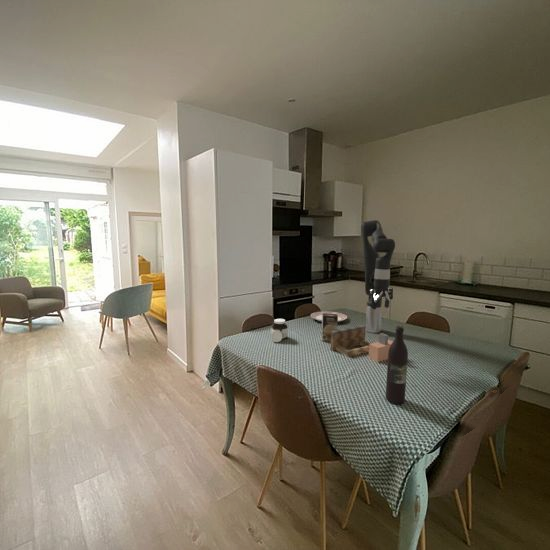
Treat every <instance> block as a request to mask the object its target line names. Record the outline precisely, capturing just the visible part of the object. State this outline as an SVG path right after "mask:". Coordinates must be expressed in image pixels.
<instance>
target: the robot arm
mask: <svg viewBox="0 0 550 550" xmlns="http://www.w3.org/2000/svg"><path fill="white" fill-rule="evenodd" d="M360 230H361V231H360V232H361V238H362V239H361V240H362V246H363V247H362V248H363V265H364V266H363V267H364V277H365V278H364V281H365V282H364V291H365V294H366V295H367V296H368V301H366V313H365V316H366V317H365V326H366V329H365V332H367V333H372V334H378V333H380V332H381V331H382V320H383V319H382V304H383V303H382V302H383V299H384V308H386V309H388V308H389V307H390V301H391V300H393V298H394V288H392V287H390V281H391V279H390V278H391V260H392V256H393V253H394V251H395V248H396V242H395V240H394V239H392V238H388V237H387V236H386V234H384V231H383V227H382V225H381V223H380V221H379V220H376V219H375V220H374V219H373V220H368V221H364V222H361V224H360ZM369 237H371V241H372V242H373V244H371V243H370V241H369V239H368V238H369ZM379 253H383V254H384V253H385V255H383V256H380V255H379ZM373 277H374V278H373ZM372 278H373V279H374V280H373V281H372Z"/></svg>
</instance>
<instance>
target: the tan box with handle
mask: <svg viewBox="0 0 550 550" xmlns="http://www.w3.org/2000/svg"><path fill="white" fill-rule="evenodd" d="M378 337H379V338H378V341H376V342H370V343H371V344H369V352H368V359H369V358H370V359H369V360H371V359H372V360H371V361H373V360H374V361H373V362H375V361H376V363H377V362H378V363H381V362H384V361H383V360H385V361H388V360H387V359H388V352H389V348H390V346H391V344H392V343H393V341H394V340H390V339H389V335H388V334H386V333H383V332H381V333H380V332H379V336H378ZM380 361H381V362H380Z"/></svg>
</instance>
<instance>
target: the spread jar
mask: <svg viewBox="0 0 550 550" xmlns="http://www.w3.org/2000/svg"><path fill="white" fill-rule="evenodd" d="M270 333H271V335H270V338H271V340H272V341H273V342H275V343H279V342H281V341H282V340H283V339H284V340H286V339H287V338H288V335H289V327H288V325H287V323H286V319H284V318H276V319H273V323H272V325H271V332H270ZM284 340H283V341H284Z"/></svg>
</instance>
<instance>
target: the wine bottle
mask: <svg viewBox="0 0 550 550" xmlns="http://www.w3.org/2000/svg"><path fill="white" fill-rule="evenodd" d="M404 331H405V330H404V327H403V326H400V325H398V326H396V327H395V337H394V339H393V340H392V341H393V343H392V344H391V346H390V348H389V352H388V360H387V367H386V369H387V371H386V383H385V400H386V401H387V402H389V403H391V404H393V405H402V404H404V403H405V402H406V389H407V387H406V385H407V373H408V363H409V362H408V360H409V359H408V358H409V351H408V348H407V345H406V343H405V341H404Z"/></svg>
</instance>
